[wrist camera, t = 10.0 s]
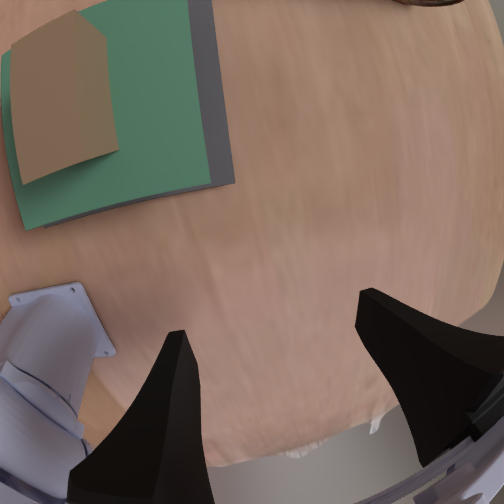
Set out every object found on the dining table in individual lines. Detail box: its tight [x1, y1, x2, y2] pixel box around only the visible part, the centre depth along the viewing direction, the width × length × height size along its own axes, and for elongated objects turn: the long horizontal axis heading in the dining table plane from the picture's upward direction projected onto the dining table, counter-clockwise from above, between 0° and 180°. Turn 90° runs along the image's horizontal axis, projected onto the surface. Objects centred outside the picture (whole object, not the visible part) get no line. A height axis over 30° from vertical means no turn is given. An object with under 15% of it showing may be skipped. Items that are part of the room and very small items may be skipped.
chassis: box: [44, 0, 235, 228], centre depth 12 cm, size 14×14×4 cm
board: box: [1, 0, 211, 231], centre depth 8 cm, size 11×11×5 cm
